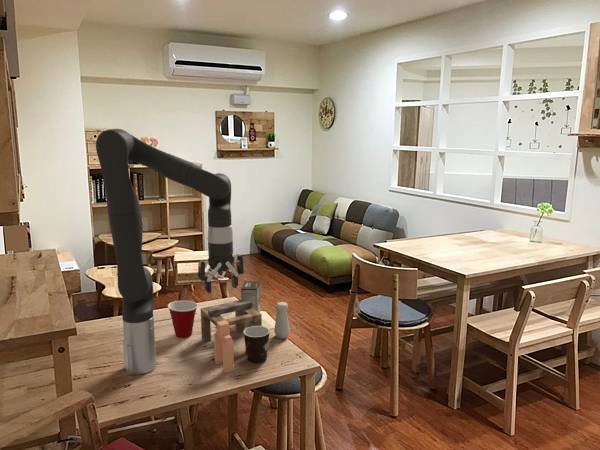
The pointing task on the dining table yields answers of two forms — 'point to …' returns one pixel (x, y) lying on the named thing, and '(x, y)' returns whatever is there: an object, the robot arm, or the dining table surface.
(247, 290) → the coffee box
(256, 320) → the square wooden frame
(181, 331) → the plastic cup
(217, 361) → the stepped pink block
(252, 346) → the coffee mug
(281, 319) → the salt shaker
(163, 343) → the dining table surface
